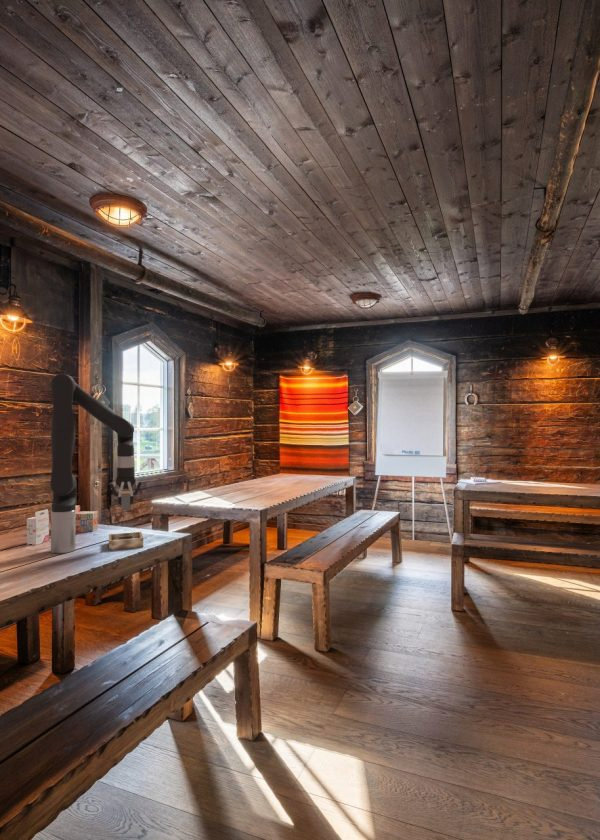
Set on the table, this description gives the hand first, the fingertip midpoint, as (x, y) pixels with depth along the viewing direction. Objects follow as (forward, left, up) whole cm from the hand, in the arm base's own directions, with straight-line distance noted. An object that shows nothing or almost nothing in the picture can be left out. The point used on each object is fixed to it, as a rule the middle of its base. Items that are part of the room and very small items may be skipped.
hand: (125, 504), depth 216 cm
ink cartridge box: (-37, +20, -18) cm, 46 cm away
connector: (0, 0, -2) cm, 2 cm away
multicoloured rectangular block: (-23, +41, -18) cm, 50 cm away
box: (0, 0, -18) cm, 18 cm away
